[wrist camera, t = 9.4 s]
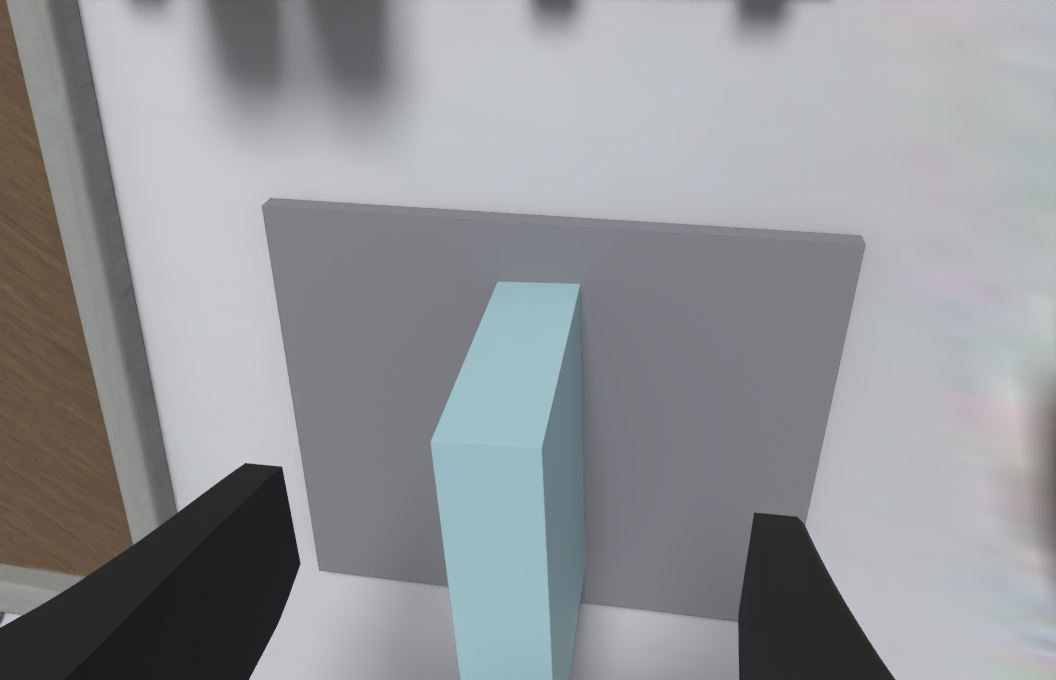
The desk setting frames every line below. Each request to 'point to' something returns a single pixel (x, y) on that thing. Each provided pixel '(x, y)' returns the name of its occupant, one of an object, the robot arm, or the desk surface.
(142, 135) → the desk surface
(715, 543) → the mat
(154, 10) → the desk surface
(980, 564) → the desk surface
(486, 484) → the pale teal block
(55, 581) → the grey flat rectangular frame
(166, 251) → the desk surface
